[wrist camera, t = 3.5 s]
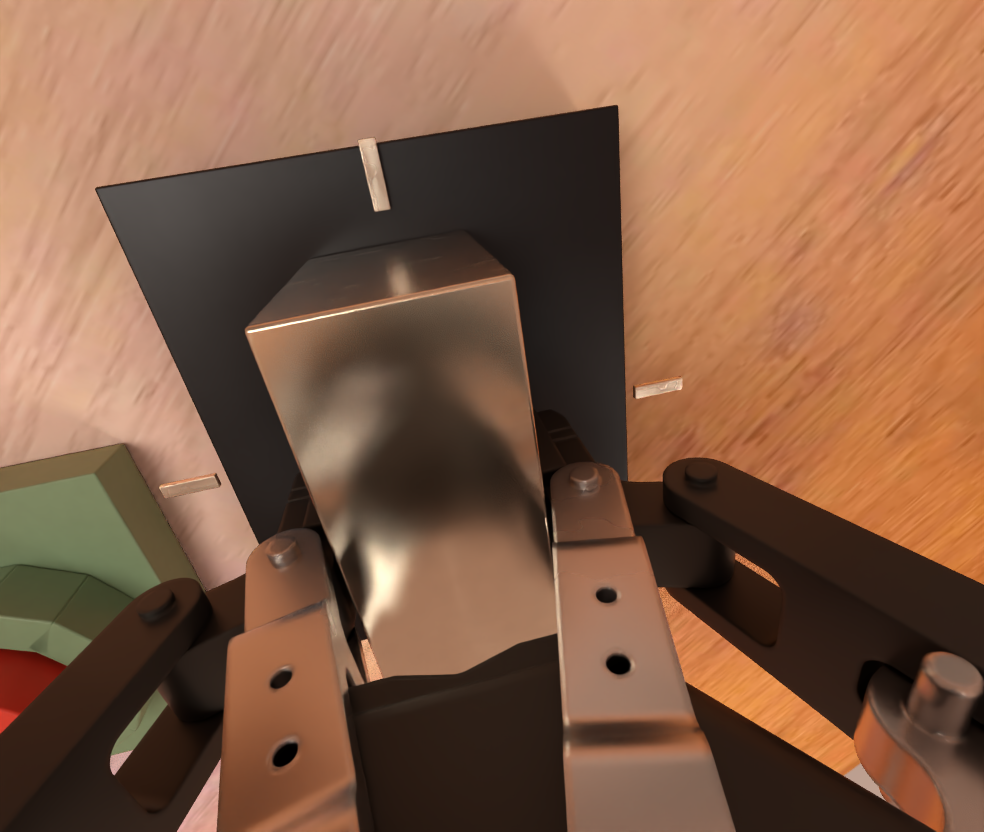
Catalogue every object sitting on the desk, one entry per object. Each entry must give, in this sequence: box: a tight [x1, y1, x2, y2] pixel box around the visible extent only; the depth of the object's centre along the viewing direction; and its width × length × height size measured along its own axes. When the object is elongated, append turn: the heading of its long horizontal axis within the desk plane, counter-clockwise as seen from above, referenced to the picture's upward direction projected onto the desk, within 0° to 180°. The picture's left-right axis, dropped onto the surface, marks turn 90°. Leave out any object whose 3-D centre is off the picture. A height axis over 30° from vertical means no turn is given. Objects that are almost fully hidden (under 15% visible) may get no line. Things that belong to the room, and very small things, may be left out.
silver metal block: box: [245, 230, 557, 679], centre depth 11 cm, size 10×4×6 cm, turn 9°
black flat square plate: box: [95, 105, 683, 640], centre depth 15 cm, size 14×14×3 cm
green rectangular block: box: [0, 444, 206, 755], centre depth 16 cm, size 11×8×4 cm
